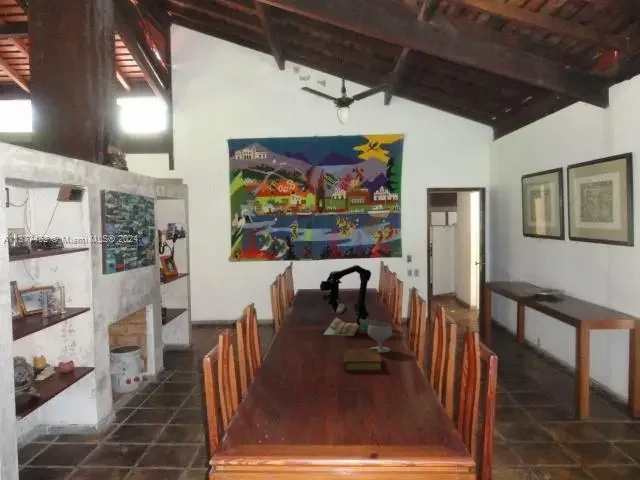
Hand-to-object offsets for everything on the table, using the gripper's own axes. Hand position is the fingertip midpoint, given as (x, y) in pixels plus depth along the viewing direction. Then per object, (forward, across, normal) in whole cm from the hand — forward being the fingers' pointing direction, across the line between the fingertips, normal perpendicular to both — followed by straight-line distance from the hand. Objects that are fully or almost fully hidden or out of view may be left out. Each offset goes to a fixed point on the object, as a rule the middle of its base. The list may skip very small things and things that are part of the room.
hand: (335, 312), depth 330 cm
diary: (+12, +80, +27) cm, 85 cm away
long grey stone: (+12, -64, -8) cm, 65 cm away
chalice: (+11, +52, +34) cm, 63 cm away
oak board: (+11, +6, +11) cm, 17 cm away
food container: (+11, +15, +24) cm, 30 cm away
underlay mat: (+11, +6, +6) cm, 14 cm away
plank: (+8, +6, +2) cm, 10 cm away
